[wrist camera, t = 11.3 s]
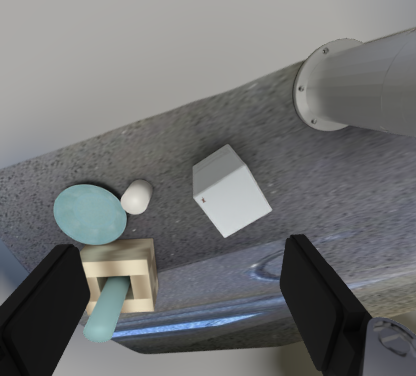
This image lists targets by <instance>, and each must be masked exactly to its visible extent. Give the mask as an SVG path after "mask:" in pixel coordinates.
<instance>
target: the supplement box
mask: <svg viewBox="0 0 416 376" xmlns="http://www.w3.org/2000/svg"><path fill="white" fill-rule="evenodd" d="M193 198H194V199H195V201H196V202H197V203H198V204H199V206H200V207H201V208H202V209H203V211H204V212H205V213H206V215H207V216H208V217H209V218H210V220H211V221H212V222H213V223H214V225H215V226H216V227H217V229H218V230H219V231H220V233H221V234H222V235H223V236H224V238H226V237H228V236H229V235H231V234H233V233H234V232H236V231H238V230H239V229H241V228H243V227H245V226H246V225H248V224H250V223H252V222H253V221H255V220H257V219H258V218H260V217H262V216H264V215H265V214H267V213H269V212H271V211H272V209H271V207H270V205H269V203H268V202H267V200H266V198H265V196H264V195H263V193H262V191H261V189H260V188H259V186H258V184H257V182H256V181H255V179H254V177H253V175H252V174H251V172H250V170H249V168H248V167H247V165H246V164H245V163H244V162H243V161H242V160H241V159H240V157H239V156H238V155H237V154H236V152H235V151H234V150H233V149H232V148H231V146H230V145H229V144H226V145H225V146H223V147H222V148H220V149H218V150H217V151H215V152H214V153H212V154H211V155H209V156H208V157H206V158H205V159H203V160H202V161H200V162H199V163H197V164H196V165H194V166H193Z"/></svg>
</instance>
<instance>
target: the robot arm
mask: <svg viewBox="0 0 416 376" xmlns="http://www.w3.org/2000/svg"><path fill="white" fill-rule="evenodd" d="M323 51H324V53H323ZM299 87H300V90H298V88H299ZM293 100H294V106H295V109H296V111H297V114H298V115H299V117H300V118H301V120H302V121H303V122H304V123H305V124H306V125H308V126H310V127H312V128H314V129H317V130H321V131H335V130H340V129H342V128H345V127H347V126H349V125H350V126H355V127H361V128H366V129H371V130H376V131H382V132H387V133H392V134H397V135H403V136H409V137H414V138H416V29H412V30H409V31H406V32H402V33H399V34H396V35H393V36H389V37H386V38H383V39H379V40H376V41H373V42H369V43H366V44H364V43H362V42H360V41H357V40H355V39H347V38H346V39H338V40H335V41H332V42H329V43H327V44H325V45H322V46H321V47H319V48H318V49H317V50H315V51H314V52H313V53H312V54H311V55H310V56H309V57H308V58H307V59H306V61H305V62H304V63H303V65H302V66H301V68H300V70H299V72H298V74H297V77H296V80H295V84H294V90H293ZM311 121H312V122H311ZM280 289H281V292H282V294H283V296H284V299H285V301H286V303H287V305H288V307H289V310H290V312H291V314H292V316H293V319H294V321H295V323H296V325H297V327H298V330H299V332H300V334H301V336H302V339H303V341H304V343H305V345H306V347H307V350H308V352H309V354H310V356H311V359H312V361H313V363H314V365H315V367H316V369H317V370H318V371H322V374H323V376H416V335H415V334H414V333H413V332H412V331H411V330H409V329H408V328H407V327H405V326H404V325H402V324H400V323H398V322H396V321H394V320H391V319H388V318H384V317H375V318H372V316H371V315H370V314H369V313H368V311H367V310H366V309H365V308H364V306H363V305H362V304H361V303H360V301H359V300H358V299H357V298H356V297H355V295H354V294H353V293H352V292H351V290H350V289H349V288H348V287H347V285H346V284H345V283H344V282H343V280H342V279H341V278H340V277H339V275H338V274H337V273H336V272H335V271H334V269H333V268H332V267H331V266H330V265H329V264H328V263H327V262H326V261H325V259H324V258H323V257H322V256H321V254H320V253H319V252H318V251H317V249H316V248H315V247H314V246H313V244H312V243H311V242H310V241H309V239H308V238H307V237H306V236H305V235H304V234H298V235H291V236H290V238H287V239H286V244H285V251H284V257H283V264H282V270H281V277H280ZM90 297H91V293H90V289H89V285H88V282H87V278H86V274H85V271H84V267H83V264H82V260H81V257H80V253H79V250H78V248H77V247H74V245H73V244H60V245H56V246H55V247H54V248H53V249H52V250H51V252H50V253H49V254H48V255H47V256H46V257H45V258H44V259H43V260H42V261H41V262H40V264H39V265H38V266H37V267H36V268H35V269H34V270H33V271H32V272H31V273H30V274H29V276H28V277H27V278H26V279H25V280H24V281H23V282H22V283H21V284H20V285H19V287H18V288H17V289H16V290H15V291H14V292H13V293H12V294H11V295H10V296H9V297H8V298H7V300H6V301H5V302H4V303H3V304H2V305H1V306H0V376H52V374H53V372H54V370H55V368H56V366H57V364H58V362H59V360H60V358H61V356H62V354H63V352H64V350H65V348H66V346H67V345H68V343H69V340H70V339H71V336H72V335H73V333H74V331H75V329H76V327H77V325H78V323H79V321H80V319H81V317H82V315H83V313H84V311H85V309H86V307H87V305H88V303H89V301H90Z"/></svg>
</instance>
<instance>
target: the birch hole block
mask: <svg viewBox="0 0 416 376" xmlns="http://www.w3.org/2000/svg"><path fill="white" fill-rule="evenodd" d="M80 257H81V260H82V264H83V267H84V271H85V274H86V278H87V282H88V285H89V289H90V293H91V297H90V301H89V303H88V305H87V307H86V310H87V313H88V315H91V313H92V311H93V309H94V307H95V305H96V303H97V301H98V298H99V296H100V294H101V292H102V290H103V288H104V286H105V284H106V282H107V279H108V277H109V276H128V275H130V279H131V282H130V285H129V288H128V291H127V294H126V297H125V300H124V303H123V306H122V309H121V312H120V313H129V312H146V311H154V308H155V302H156V297H157V291H158V277H157V269H156V261H155V253H154V244H153V238H148V239H124V240H114V241H112V242H109V243H106V244H102V245H90V244H86V245H85V246H84V248H83V249H82V250H81V252H80Z"/></svg>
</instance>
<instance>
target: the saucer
mask: <svg viewBox="0 0 416 376" xmlns="http://www.w3.org/2000/svg"><path fill="white" fill-rule="evenodd" d="M54 216H55V220H56V222H57V224H58V225H59V227H60V228H61V229H62V230H63V232H65V233H66V234H67V235H68V236H69V237H71V238H73V239H74V240H76V241H79V242H82V243H85V244H90V245H102V244H106V243H109V242H112V241H114V240H115V239H117V238H118V237H119V236H120V235H121V234H122V233H123V231H124V229H125V227H126V220H127V217H126V212H125V210H124V209H123V208H122V206H121V202H120V201H119V200H118V199H117V198H116V197H115V196H114V195H113V194H112V193H111V192H109V191H107V190H105V189H103V188H101V187H98V186H94V185H88V184H80V185H75V186H71V187H69V188H67V189H65V190H64V191H63V192H61V193H60V194H59V196H58V197H57V199H56V201H55V204H54Z"/></svg>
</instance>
